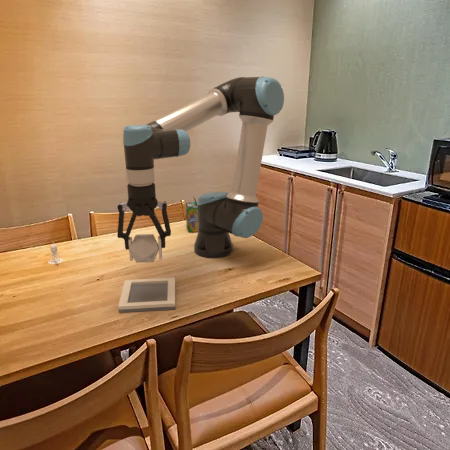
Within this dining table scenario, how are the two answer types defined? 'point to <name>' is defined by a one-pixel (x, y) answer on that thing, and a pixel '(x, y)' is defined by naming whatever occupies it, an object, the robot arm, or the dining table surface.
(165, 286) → the pocket plate
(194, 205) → the chalk box
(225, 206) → the robot arm
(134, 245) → the die
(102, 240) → the dining table surface
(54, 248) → the toy figurine
